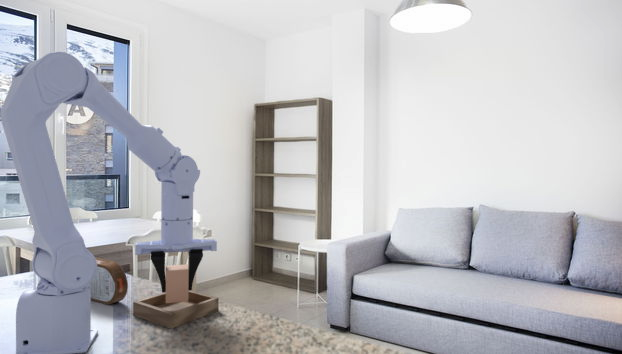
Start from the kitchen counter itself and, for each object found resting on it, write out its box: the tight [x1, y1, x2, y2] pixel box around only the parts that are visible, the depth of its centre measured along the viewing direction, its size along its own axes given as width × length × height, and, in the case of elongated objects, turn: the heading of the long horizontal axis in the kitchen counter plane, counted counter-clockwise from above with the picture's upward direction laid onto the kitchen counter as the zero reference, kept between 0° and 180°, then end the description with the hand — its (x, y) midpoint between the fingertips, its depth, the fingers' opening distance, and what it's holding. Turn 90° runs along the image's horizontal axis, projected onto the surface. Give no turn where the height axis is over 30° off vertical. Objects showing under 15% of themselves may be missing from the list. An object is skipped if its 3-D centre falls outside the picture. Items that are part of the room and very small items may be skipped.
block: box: [165, 264, 189, 303], centre depth 80 cm, size 4×4×6 cm
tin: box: [90, 256, 129, 305], centre depth 87 cm, size 15×3×8 cm, turn 61°
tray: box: [132, 290, 220, 330], centre depth 80 cm, size 11×11×2 cm
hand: (176, 290), depth 80 cm, fingers closed on block, 4 cm apart
